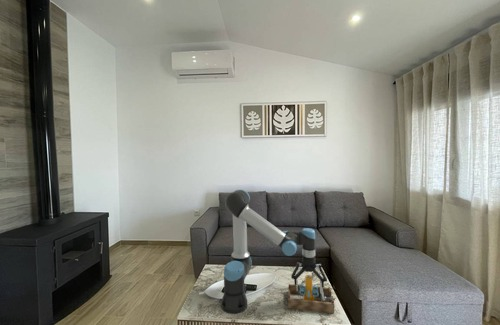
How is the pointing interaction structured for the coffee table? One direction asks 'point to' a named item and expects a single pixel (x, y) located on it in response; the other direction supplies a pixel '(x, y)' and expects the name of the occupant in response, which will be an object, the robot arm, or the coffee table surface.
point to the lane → (311, 304)
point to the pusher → (324, 297)
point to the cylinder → (308, 289)
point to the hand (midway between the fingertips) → (308, 291)
